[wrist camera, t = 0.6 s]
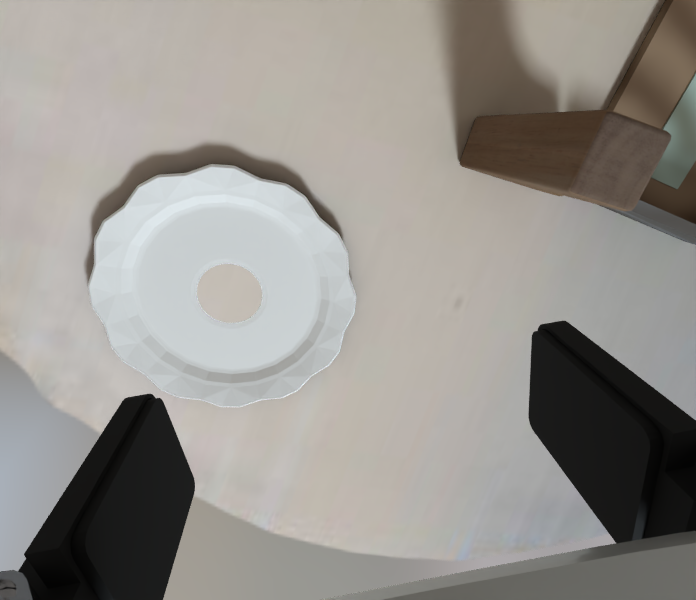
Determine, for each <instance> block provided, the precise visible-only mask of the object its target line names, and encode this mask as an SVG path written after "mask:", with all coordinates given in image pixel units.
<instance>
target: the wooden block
mask: <svg viewBox="0 0 696 600" xmlns="http://www.w3.org/2000/svg"><path fill="white" fill-rule="evenodd" d="M670 141H671V134H670V133H668V132H667V131H665V130H663V129H660V128H657V127H655V126H652V125H649V124H646V123H644V122H641V121H638V120H636V119H633V118H630V117H628V116H625V115H622V114H620V113H617V112H614V111H611V110H594V111H575V112H555V113H536V114H514V115H494V116H479V117H477V118H476V119H475V121H474V124H473V127H472V130H471V132H470V135H469V138H468V141H467V143H466V146H465V149H464V152H463V154H462V157H461V160H460V165H461V166H462V167H465V168H469V169H472V170H475V171H478V172H481V173H485V174H488V175H491V176H494V177H497V178H501V179H504V180H507V181H510V182H513V183H516V184H520V185H523V186H526V187H529V188H532V189H536V190H539V191H543V192H546V193H550V194H553V195H557V196H563V195H565V196H568V197H572V198H576V199H579V200H583V201H587V202H591V203H594V204H598V205H602V206H606V207H609V208H613V209H617V210H620V211H631V210H633V209H634V208H635V207H636V205H637V203H638V201H639V199H640V197H641V195H642V193H643V191H644V190H645V188H646V186H647V184H648V182H649V180H650V178H651V176H652V175H653V173H654V171H655V169H656V167H657V165H658V163H659V161H660V159H661V158H662V156H663V154H664V152H665V150H666V148H667V146H668V144H669V142H670Z"/></svg>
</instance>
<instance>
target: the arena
mask: <svg viewBox="0 0 696 600" xmlns="http://www.w3.org/2000/svg"><path fill="white" fill-rule="evenodd" d="M607 110H611V111H614V112H617V113H620V114H622V115H625V116H628V117H630V118H633V119H636V120H638V121H641V122H644V123H646V124H649V125H652V126H655V127H657V128H660V129H663V130H665V131H667V132H668V133H670V134H671V141H670V142H669V144H668V146H667V148H666V150H665V152H664V154H663V156H662V158H661V159H660V161H659V163H658V165H657V167H656V169H655V171H654V173H653V175H652V176H651V178H650V180H649V182H648V184H647V186H646V188H645V190H644V191H643V193H642V195H641V197H640V199H639V201H638V203H637V205H636V207H635V208H634V209H633V210H631V211H620V210H617V209H613V208H609V207H606V206H602V205H600V206H602V207H605V208H607V209H609V210H612V211H614V212H617V213H619V214H621V215H624V216H626V217H628V218H631V219H633V220H636V221H638V222H640V223H643V224H645V225H647V226H650V227H652V228H654V229H657V230H659V231H662V232H664V233H666V234H669V235H671V236H673V237H676V238H678V239H681V240H683V241H685V242H689V243H692V244H695V245H696V0H666V1H665V2H664V4H663V6H662V8H661V10H660V12H659V14H658V15H657V17H656V19H655V21H654V23H653V25H652V27H651V28H650V30H649V32H648V34H647V36H646V38H645V40H644V41H643V43H642V45H641V47H640V49H639V51H638V53H637V54H636V56H635V58H634V60H633V62H632V64H631V66H630V67H629V69H628V71H627V73H626V75H625V77H624V79H623V80H622V82H621V84H620V86H619V88H618V90H617V92H616V93H615V95H614V97H613V99H612V101H611V103H610V105H609V106H608V108H607Z"/></svg>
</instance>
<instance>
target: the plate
mask: <svg viewBox="0 0 696 600" xmlns="http://www.w3.org/2000/svg"><path fill="white" fill-rule="evenodd" d="M220 264H234V265H239V266H241V267H243V268H246V269H247V270H248V271H250V272H251V273H252V274H253V275H254V276H255V277H256V278H257V280H258V281H259V284H260V286H261V289H262V301H261V305H260V307H259V309H258V310H257V312H256V313H255V314H254V315H253V316H252V317H250V318H248V319H247V320H244V321H241V322H237V323H227V322H221V321H219V320H216V319H214V318H213V317H211V316H210V315H208V314H207V313H206V312H205V311H204V310H203V308H202V307H201V305H200V303H199V301H198V297H197V285H198V282H199V280H200V278H201V277H202V275H203V274H204V273H205V272H206V271H207V270H209V269H210V268H212V267H214V266H217V265H220ZM87 286H88V292H89V298H90V304H91V306H92V308H93V309H94V311H95V313H96V314H97V316H98V317H99V319H100V320H101V322H102V323H103V325H104V327H105V331H106V334H107V337H108V340H109V343H110V347H111V348H112V349H113V350H114V352H115V353H116V354H117V355H118V356H119V358H120V359H121V360H122V361H123V362H124V363H126V364H127V365H129V366H131V367H133V368H134V369H136V370H138V371H139V372H141V373H143V374H144V375H145V376H146V377H147V378H149V379H150V380H151V381H152V382H153V383H154V384H155V385H156V386H157V387H158V388H159V389H160V390H162V391H164V392H167V393H169V394H171V395H173V396H175V397H178V398H186V399H196V400H202V401H205V402H208V403H211V404H214V405H217V406H220V407H242V406H245V405H248V404H251V403H254V402H257V401H260V400H268V399H278V398H283V397H285V396H287V395H290V394H292V393H294V392H296V391H298V390H299V389H300V388H301V387H302V386H303V385H304V384H305V383H306V382H307V381H308V379H309V378H310V377H311V376H313V375H315V374H316V373H318V372H319V371H321V370H323V369H324V368H326V367H328V366H329V365H330V364H331V363H332V361H333V360H334V359H335V357H336V356H337V355H338V353H339V352H340V348H341V344H342V340H343V335H344V331H345V330H346V328H347V326H348V324H349V322H350V321H351V319H352V317H353V315H354V313H355V304H356V293H355V290H354V288H353V285H352V282H351V279H350V276H349V264H348V251H347V249H346V247H345V245H344V243H343V241H342V239H341V237H340V235H339V233H338V232H337V231H335V230H334V229H333V228H332V227H331V226H330V225H328V224H327V223H326V222H325V221H324V220H322V219H321V218H320V217H319V215H318V214H317V212H316V211H315V209H314V208H313V206H312V205H311V204H310V202H309V201H308V199H307V198H306V196H305V195H303V194H302V193H300V192H299V191H297V190H296V189H294V188H293V187H291V186H290V185H288V184H287V183H282V182H277V181H272V180H267V179H262V178H259V177H257V176H255V175H253V174H251V173H249V172H247V171H245V170H243V169H241V168H239V167H237V166H233V165H219V164H209V165H207V166H204V167H201V168H198V169H195V170H193V171H190V172H187V173H178V174H161V175H156V176H154V177H152V178H150V179H149V180H147V181H145V182H143V183H141V184H139V185H138V186H137V187H136V189H135V190H134V191H133V193H132V194H131V196H130V197H129V198H128V200H127V201H126V203H125V204H124V206H122V207H121V208H120V209H118V210H117V211H116V212H114V213H113V214H112V215H110V216H109V217H107V218H106V219H105V220H103V222H102V224H101V226H100V228H99V230H98V232H97V234H96V236H95V238H94V266H93V269H92V273H91V276H90V279H89V282H88V285H87Z"/></svg>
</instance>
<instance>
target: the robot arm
mask: <svg viewBox="0 0 696 600" xmlns="http://www.w3.org/2000/svg"><path fill="white" fill-rule="evenodd" d="M529 421H530V425H531V427H532V429H533V431H534V432H535V434H536V435H537V436H538V438H539V439H540V440H541V442H542V443H543V444H544V446H545V447H546V448H547V450H548V451H549V452H550V454H551V455H552V457H553V458H554V459H555V461H556V462H557V463H558V465H559V466H560V467H561V469H562V470H563V471H564V473H565V474H566V476H567V477H568V478H569V480H570V481H571V482H572V484H573V485H574V486H575V488H576V489H577V490H578V492H579V493H580V495H581V496H582V497H583V499H584V500H585V501H586V503H587V504H588V505H589V507H590V508H591V509H592V511H593V512H594V513H595V515H596V516H597V518H598V519H599V520H600V522H601V523H602V524H603V526H604V527H605V528H606V530H607V531H608V532H609V534H610V535H611V536H612V538H613V539H614V541H615V542H616V544H610V545H605V546H599V547H594V548H588V549H583V550H578V551H572V552H567V553H561V554H556V555H551V556H546V557H540V558H535V559H529V560H524V561H519V562H514V563H508V564H503V565H498V566H492V567H487V568H482V569H476V570H471V571H466V572H461V573H455V574H450V575H446V576H440V577H435V578H430V579H424V580H419V581H414V582H409V583H404V584H399V585H393V586H388V587H383V588H379V589H373V590H368V591H363V592H358V593H353V594H347V595H342V596H337V597H332V598H327V599H322V600H696V420H694V419H693V418H692V417H690V416H689V415H688V414H686V413H685V412H684V411H683V410H681V409H680V408H679V407H677V406H676V405H675V404H673V403H672V402H671V401H670V400H668V399H667V398H666V397H664V396H663V395H662V394H660V393H659V392H658V391H657V390H655V389H654V388H653V387H651V386H650V385H649V384H647V383H646V382H645V381H644V380H642V379H641V378H640V377H638V376H637V375H636V374H634V373H633V372H632V371H630V370H629V369H628V368H627V367H625V366H624V365H623V364H621V363H620V362H619V361H617V360H616V359H615V358H614V357H612V356H611V355H610V354H608V353H607V352H606V351H604V350H603V349H602V348H601V347H599V346H598V345H597V344H595V343H594V342H593V341H591V340H590V339H589V338H588V337H586V336H585V335H584V334H582V333H581V332H580V331H578V330H577V329H576V328H575V327H573V326H572V325H571V324H569V323H568V322H566V321H558V322H553V323H547V324H542V325H540V326H539V328H538V331H535V332H534V333H533V335H532V349H531V372H530V396H529ZM194 491H195V482H194V477H193V475H192V472H191V470H190V467H189V465H188V462H187V460H186V457H185V455H184V452H183V450H182V447H181V445H180V442H179V440H178V437H177V435H176V432H175V430H174V427H173V425H172V422H171V420H170V417H169V415H168V412H167V410H166V407H165V405H164V403H163V401H162V400H161V399H160V398H155V397H154V396H153V395H152V394H145V395H139V396H134V397H128V398H125V399H124V400H123V401H122V403H121V405H120V406H119V408H118V409H117V411H116V412H115V414H114V415H113V417H112V419H111V420H110V422H109V423H108V425H107V426H106V428H105V429H104V431H103V433H102V434H101V436H100V437H99V439H98V440H97V442H96V444H95V445H94V447H93V448H92V450H91V451H90V453H89V454H88V456H87V457H86V459H85V461H84V462H83V464H82V465H81V467H80V468H79V470H78V471H77V473H76V475H75V476H74V478H73V479H72V481H71V482H70V484H69V485H68V487H67V488H66V490H65V492H64V493H63V495H62V496H61V498H60V499H59V501H58V502H57V504H56V506H55V507H54V509H53V510H52V512H51V513H50V515H49V516H48V518H47V519H46V521H45V523H44V524H43V526H42V528H41V529H40V531H39V532H38V534H37V535H36V537H35V538H34V540H33V541H32V543H31V545H30V546H29V547H28V549H27V551H26V552H25V554H24V555H25V557H26V560H25V561H24V563H23V565H22V566H21V568H20V569H19V571H15V570H10V571H1V572H0V600H163V597H164V594H165V591H166V587H167V584H168V580H169V577H170V574H171V570H172V566H173V563H174V560H175V557H176V553H177V550H178V546H179V543H180V540H181V536H182V533H183V529H184V526H185V523H186V519H187V516H188V512H189V509H190V506H191V502H192V498H193V495H194Z"/></svg>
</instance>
